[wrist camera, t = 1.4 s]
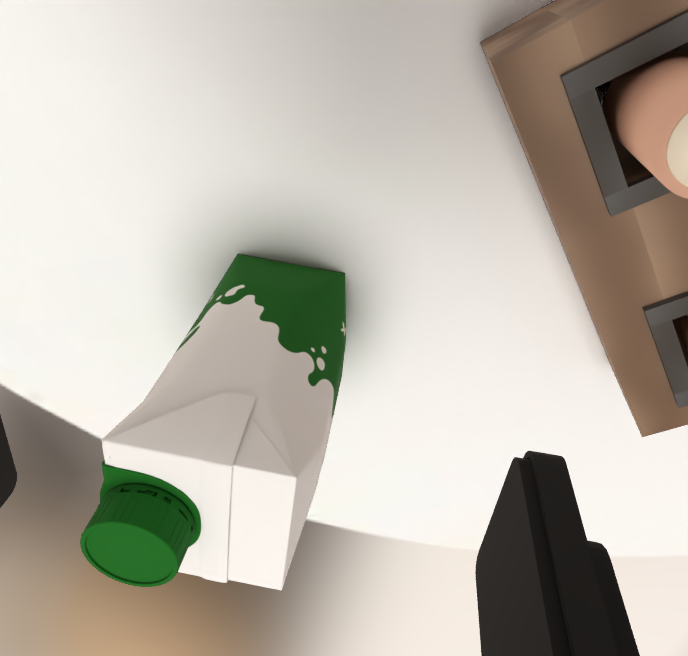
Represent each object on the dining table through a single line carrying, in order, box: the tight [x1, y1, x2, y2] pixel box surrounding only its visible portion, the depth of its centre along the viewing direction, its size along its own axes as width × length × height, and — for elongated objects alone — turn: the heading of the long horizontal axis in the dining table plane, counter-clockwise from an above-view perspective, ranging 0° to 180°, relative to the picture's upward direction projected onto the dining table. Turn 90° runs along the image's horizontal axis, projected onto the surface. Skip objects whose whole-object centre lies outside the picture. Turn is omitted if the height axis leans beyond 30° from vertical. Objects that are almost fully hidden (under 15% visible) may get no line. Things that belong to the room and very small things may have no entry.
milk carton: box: [80, 254, 346, 590], centre depth 31 cm, size 9×9×20 cm
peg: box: [603, 51, 688, 199], centre depth 22 cm, size 4×4×7 cm
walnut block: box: [480, 0, 688, 437], centre depth 29 cm, size 11×22×7 cm, turn 30°
